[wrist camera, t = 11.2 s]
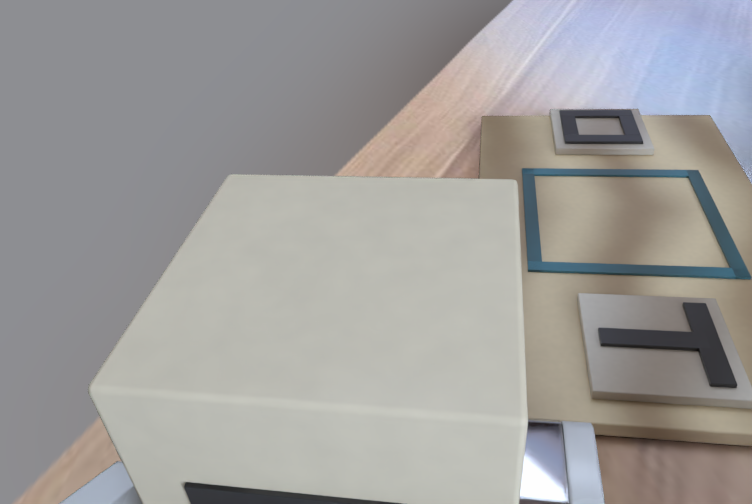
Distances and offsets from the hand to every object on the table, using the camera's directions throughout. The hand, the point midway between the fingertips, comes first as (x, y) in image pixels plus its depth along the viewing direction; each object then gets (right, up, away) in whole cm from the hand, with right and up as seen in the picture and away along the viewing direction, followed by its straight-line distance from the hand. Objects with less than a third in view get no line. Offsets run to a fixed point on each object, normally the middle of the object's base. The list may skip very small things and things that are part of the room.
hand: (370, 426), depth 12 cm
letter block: (0, -5, +3) cm, 6 cm away
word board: (+11, +4, +18) cm, 21 cm away
